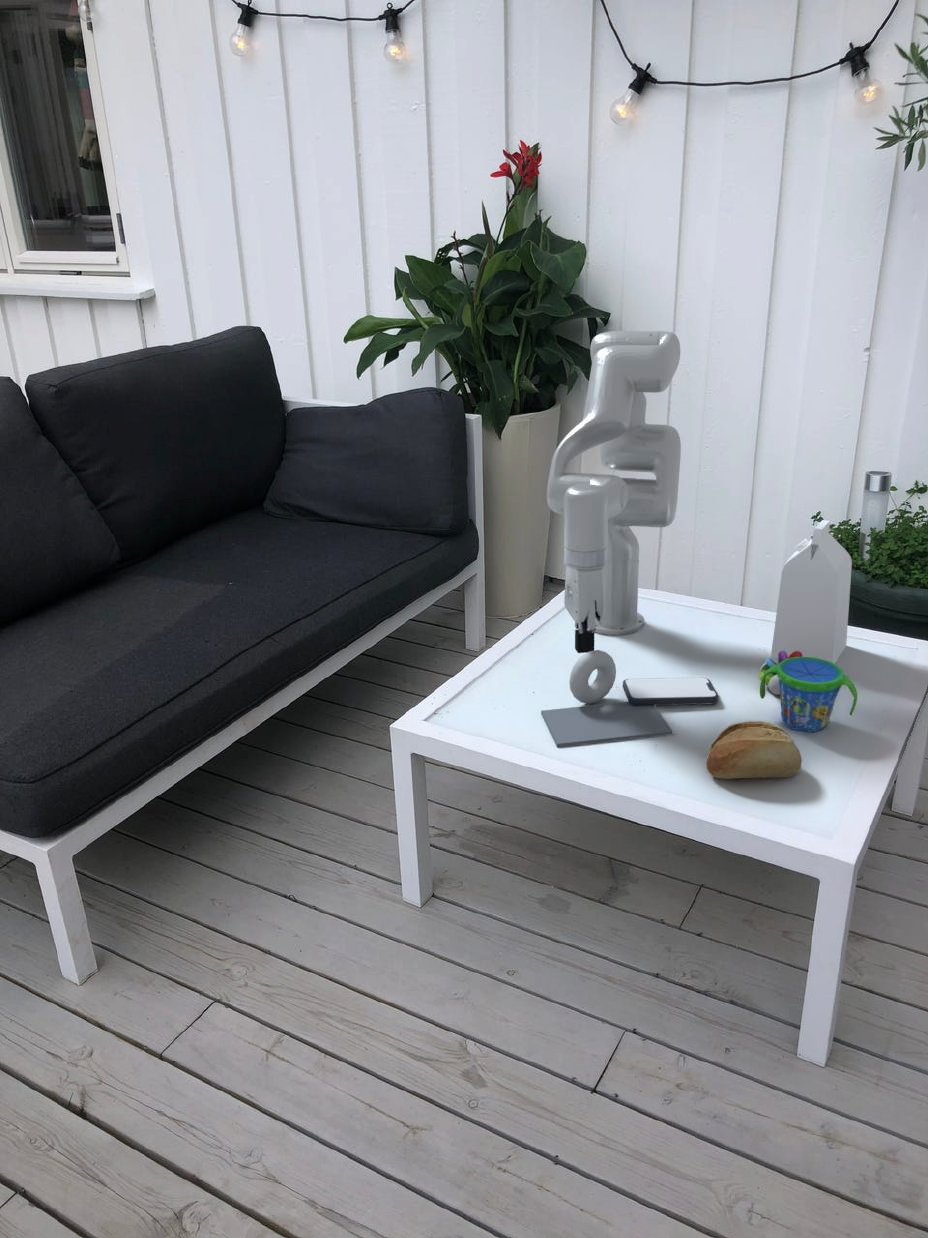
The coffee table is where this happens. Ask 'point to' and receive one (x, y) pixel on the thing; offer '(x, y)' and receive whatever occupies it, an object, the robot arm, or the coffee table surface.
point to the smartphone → (670, 691)
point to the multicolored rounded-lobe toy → (773, 677)
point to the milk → (814, 599)
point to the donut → (583, 672)
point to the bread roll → (753, 752)
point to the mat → (604, 723)
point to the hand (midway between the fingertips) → (584, 650)
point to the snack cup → (808, 691)
